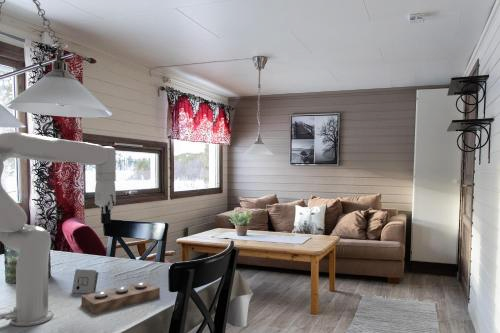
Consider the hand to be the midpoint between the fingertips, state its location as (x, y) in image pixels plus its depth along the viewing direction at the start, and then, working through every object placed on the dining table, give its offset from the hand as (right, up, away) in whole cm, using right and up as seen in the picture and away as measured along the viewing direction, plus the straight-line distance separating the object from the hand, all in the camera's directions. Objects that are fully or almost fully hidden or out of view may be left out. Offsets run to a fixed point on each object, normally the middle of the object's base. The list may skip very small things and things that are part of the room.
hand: (105, 223), depth 155 cm
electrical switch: (-11, -29, +5) cm, 32 cm away
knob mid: (+8, -29, -6) cm, 30 cm away
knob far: (+14, -29, 0) cm, 32 cm away
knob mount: (+8, -29, -6) cm, 31 cm away
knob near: (+2, -29, -11) cm, 31 cm away
